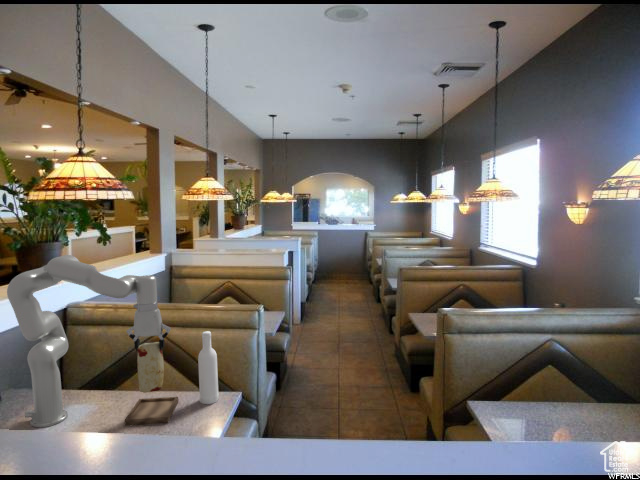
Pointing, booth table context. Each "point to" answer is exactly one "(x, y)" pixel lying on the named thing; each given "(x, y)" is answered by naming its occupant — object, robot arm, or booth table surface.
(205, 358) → the bottle
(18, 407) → the booth table surface
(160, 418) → the serving board
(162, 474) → the booth table surface
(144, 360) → the food model
